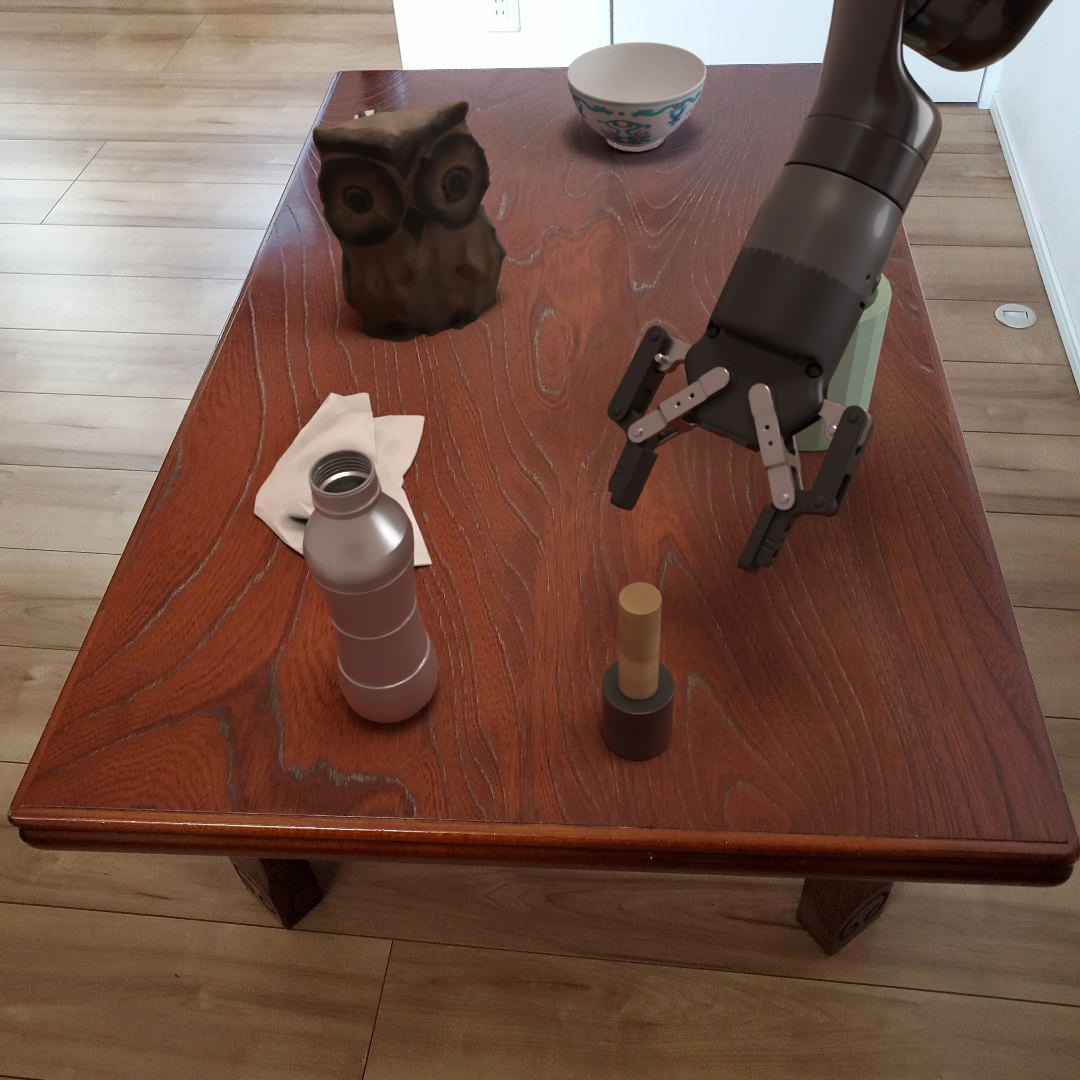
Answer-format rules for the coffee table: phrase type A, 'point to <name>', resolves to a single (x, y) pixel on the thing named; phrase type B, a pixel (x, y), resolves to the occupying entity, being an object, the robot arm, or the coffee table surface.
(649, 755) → the peg in round base
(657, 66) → the chinaware
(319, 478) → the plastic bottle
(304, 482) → the cloth
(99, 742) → the coffee table surface
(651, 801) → the coffee table surface
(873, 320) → the cup
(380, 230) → the owl
